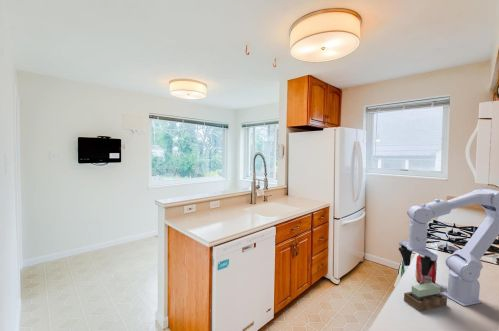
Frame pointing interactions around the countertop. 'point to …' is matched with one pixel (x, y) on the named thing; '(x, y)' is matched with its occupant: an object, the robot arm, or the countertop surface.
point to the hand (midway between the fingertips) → (415, 270)
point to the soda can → (431, 275)
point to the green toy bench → (425, 290)
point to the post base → (425, 301)
